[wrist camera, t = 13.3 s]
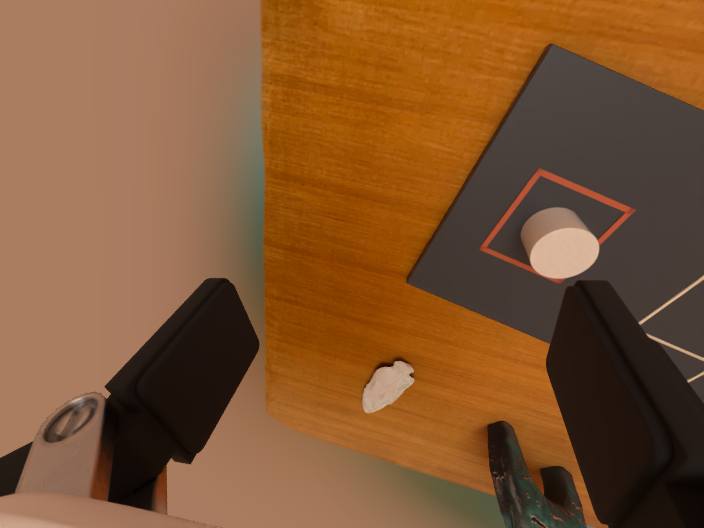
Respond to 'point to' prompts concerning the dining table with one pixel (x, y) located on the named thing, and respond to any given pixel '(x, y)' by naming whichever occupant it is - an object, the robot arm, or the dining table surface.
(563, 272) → the white cylinder
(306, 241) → the dining table surface
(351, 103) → the dining table surface
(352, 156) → the dining table surface
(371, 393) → the stone tool
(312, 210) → the dining table surface
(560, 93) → the board
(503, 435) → the ceramic cat
